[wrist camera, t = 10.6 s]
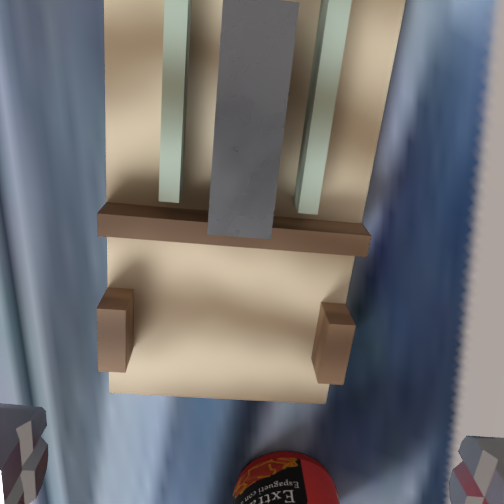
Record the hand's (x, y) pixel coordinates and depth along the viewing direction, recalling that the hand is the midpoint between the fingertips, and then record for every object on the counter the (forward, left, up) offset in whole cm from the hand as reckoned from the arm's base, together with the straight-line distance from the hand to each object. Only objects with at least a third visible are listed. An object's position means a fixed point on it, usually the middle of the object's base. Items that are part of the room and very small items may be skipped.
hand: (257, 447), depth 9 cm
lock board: (-1, 0, -19) cm, 19 cm away
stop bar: (+4, 0, -18) cm, 18 cm away
